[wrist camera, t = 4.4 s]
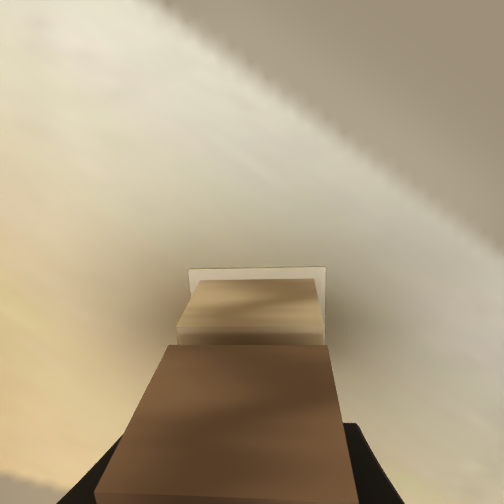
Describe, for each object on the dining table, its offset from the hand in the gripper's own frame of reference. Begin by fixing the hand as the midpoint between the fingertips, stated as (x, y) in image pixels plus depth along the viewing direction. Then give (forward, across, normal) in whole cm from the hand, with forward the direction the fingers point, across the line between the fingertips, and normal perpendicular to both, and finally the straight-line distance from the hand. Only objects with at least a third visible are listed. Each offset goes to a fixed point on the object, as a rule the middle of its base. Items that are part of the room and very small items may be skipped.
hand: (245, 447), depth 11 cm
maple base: (+7, 0, 0) cm, 7 cm away
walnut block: (+2, 0, 0) cm, 2 cm away
